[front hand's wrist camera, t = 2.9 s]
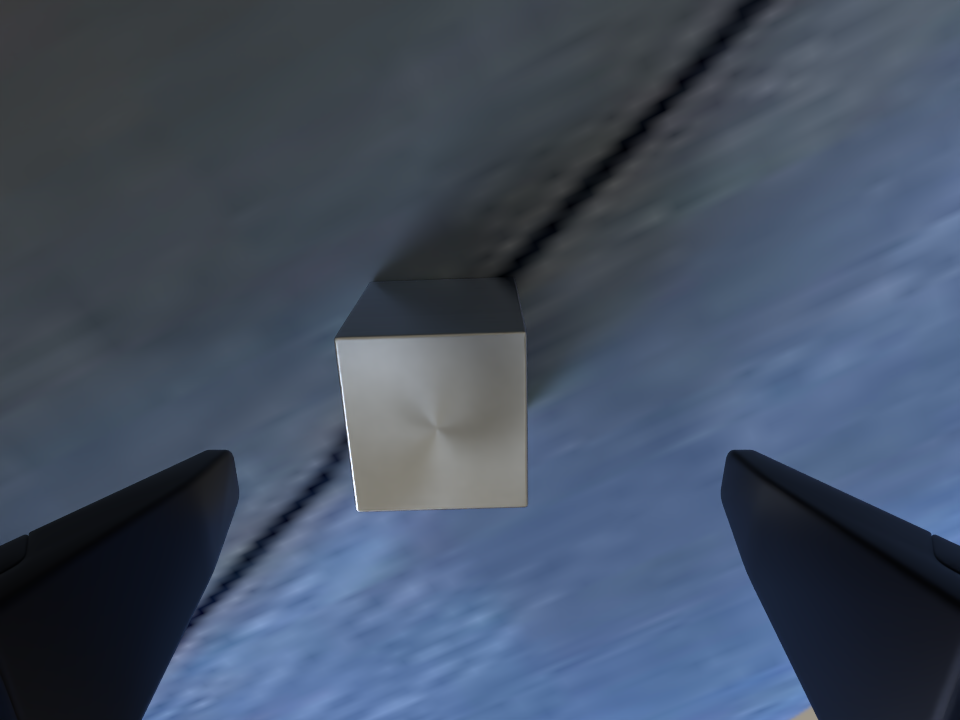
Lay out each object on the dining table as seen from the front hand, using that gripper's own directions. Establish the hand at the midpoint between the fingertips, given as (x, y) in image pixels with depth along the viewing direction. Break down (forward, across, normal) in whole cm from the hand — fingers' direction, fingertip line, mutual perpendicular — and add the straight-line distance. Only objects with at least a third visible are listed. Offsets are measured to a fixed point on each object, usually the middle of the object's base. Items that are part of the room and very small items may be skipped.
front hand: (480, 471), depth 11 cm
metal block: (+8, +1, +1) cm, 8 cm away
